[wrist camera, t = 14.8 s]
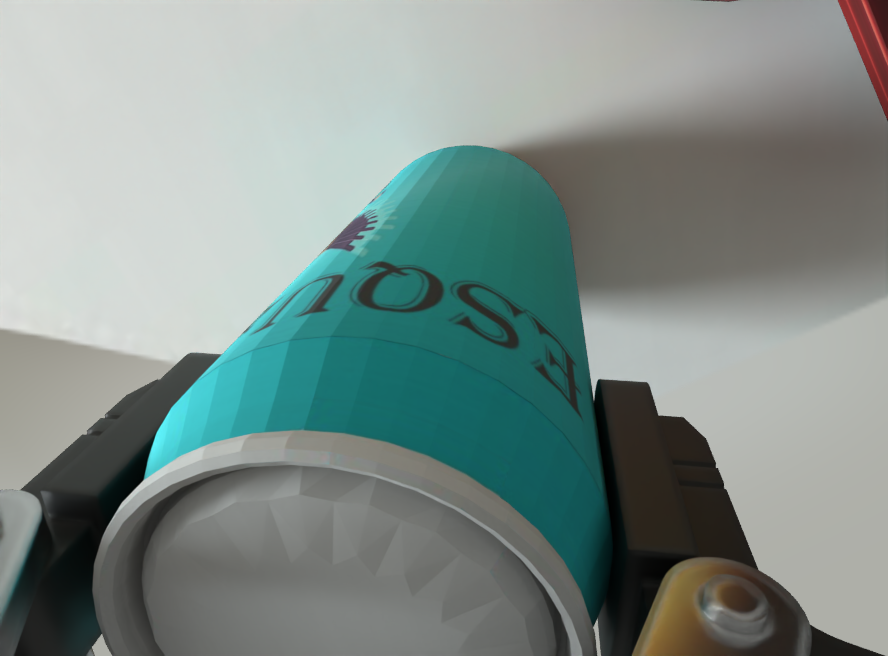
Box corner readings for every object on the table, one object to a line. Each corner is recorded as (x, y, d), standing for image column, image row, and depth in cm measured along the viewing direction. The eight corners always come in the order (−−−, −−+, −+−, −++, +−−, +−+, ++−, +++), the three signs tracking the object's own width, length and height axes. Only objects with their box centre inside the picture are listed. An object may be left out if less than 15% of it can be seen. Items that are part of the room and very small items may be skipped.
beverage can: (421, 103, 18) (95, 311, 5) (601, 182, 19) (762, 585, 5) (361, 273, 21) (37, 715, 7) (520, 339, 21) (484, 885, 8)
